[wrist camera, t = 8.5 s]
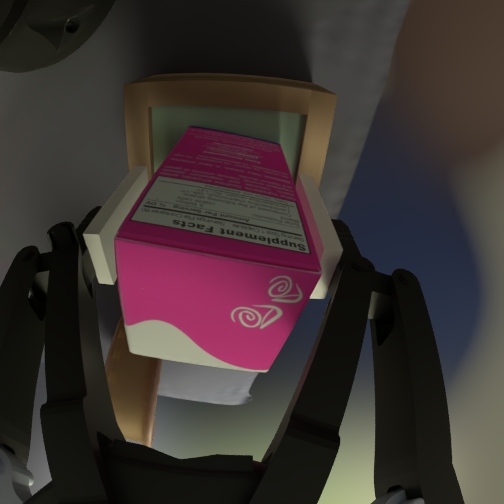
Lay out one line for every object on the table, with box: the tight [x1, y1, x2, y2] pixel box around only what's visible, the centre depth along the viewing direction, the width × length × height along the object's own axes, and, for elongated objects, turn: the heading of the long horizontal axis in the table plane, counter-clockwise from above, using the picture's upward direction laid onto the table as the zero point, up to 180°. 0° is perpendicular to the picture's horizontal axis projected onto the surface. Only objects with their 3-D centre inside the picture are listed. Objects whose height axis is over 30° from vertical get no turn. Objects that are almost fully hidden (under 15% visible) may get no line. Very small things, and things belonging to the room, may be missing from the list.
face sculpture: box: [105, 316, 163, 447], centre depth 33 cm, size 20×7×17 cm, turn 164°
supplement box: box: [114, 126, 322, 372], centre depth 13 cm, size 6×6×12 cm
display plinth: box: [124, 73, 338, 189], centre depth 20 cm, size 12×12×7 cm
